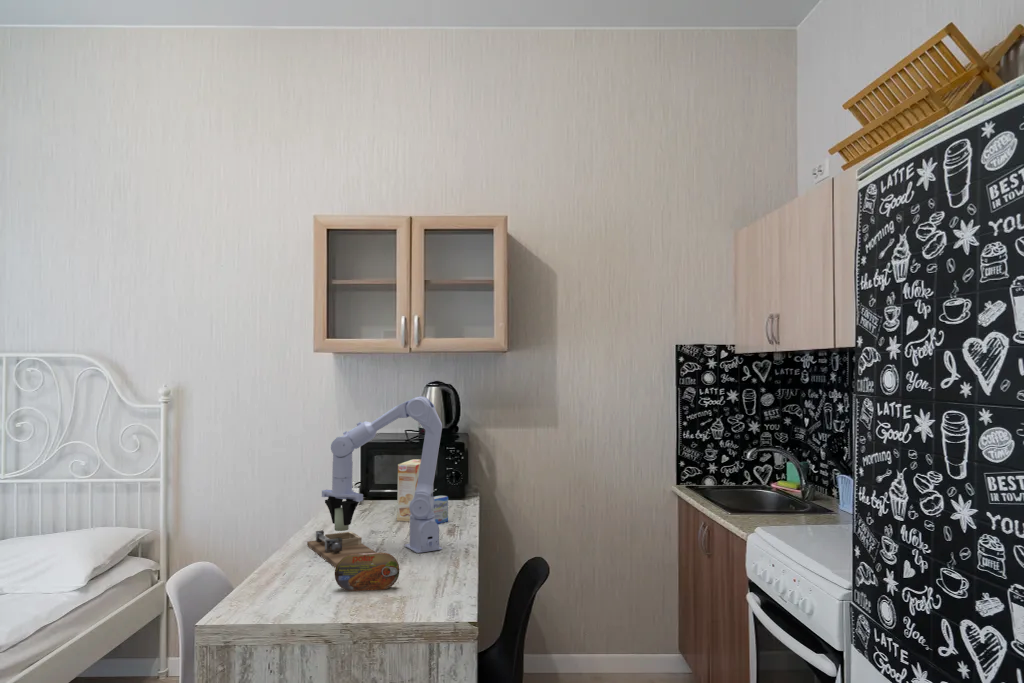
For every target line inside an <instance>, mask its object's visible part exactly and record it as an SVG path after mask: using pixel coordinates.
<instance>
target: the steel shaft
mask: <svg viewBox="0 0 1024 683" xmlns="http://www.w3.org/2000/svg"><path fill="white" fill-rule="evenodd" d="M318 538H319V539H320V540H321V541H323V542H324V543H325V540H327V539H329V538H327V537H326V536H325V534H324V535H323V534H319V535H318ZM330 547H331V550H332V551H333V552H335V553H339V552H340V551H341V550H342V545H341V544H340V543H338V542H332V543H330Z"/></svg>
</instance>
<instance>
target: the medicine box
mask: <svg viewBox="0 0 1024 683" xmlns="http://www.w3.org/2000/svg"><path fill="white" fill-rule="evenodd" d="M433 497H434V501H435V503H434V507H433V508H432V509H431V511H432V512H433V513H434V514H435V516H434V518H435V522H436V523H437V524H438V525H439V524H440V525H441V524H444V523H448V522H449V496H448V495H435V496H433Z"/></svg>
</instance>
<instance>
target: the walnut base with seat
mask: <svg viewBox="0 0 1024 683" xmlns="http://www.w3.org/2000/svg"><path fill="white" fill-rule="evenodd" d="M324 536H326V537H327V538H329V539H335V538H342V551H340V552H339V553H335V552H333V551H332V550H331V547H330V553H326V552H325V543H324V542H323V541H322V542H316V540H309V541H306V542H307V543H306V544H307V545H308V546H309V547H308V546H307V545H306V546H307V547H308V548H310V549H311V550H312V551H314V552H315V553H316V555H319V556H320V557H321V558H323V559H324V560H325V561H327V562H328V563H329V564H330V565H332V566H333V567H334V568H336V566H337V564H338V563H339V561H340V560H341V559H342V558H344V557H345V556H347V555H350V554H363V553H378V552H377V551H375V550H374V549H372V548H370V547H368V546H367V545H365V544H364V543H362V538H363V537H362V536H360V535H359V534H356V533H354V531H352V530H351V531H341V532H337V533H336V532H335V533H328V534H324Z"/></svg>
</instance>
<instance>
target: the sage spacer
mask: <svg viewBox="0 0 1024 683" xmlns="http://www.w3.org/2000/svg"><path fill="white" fill-rule="evenodd" d="M349 528H350V525H344V519H343V509H342V506H341V508H336V509H335V524H334V531H336V532H347V531H348V530H350V529H349Z"/></svg>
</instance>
